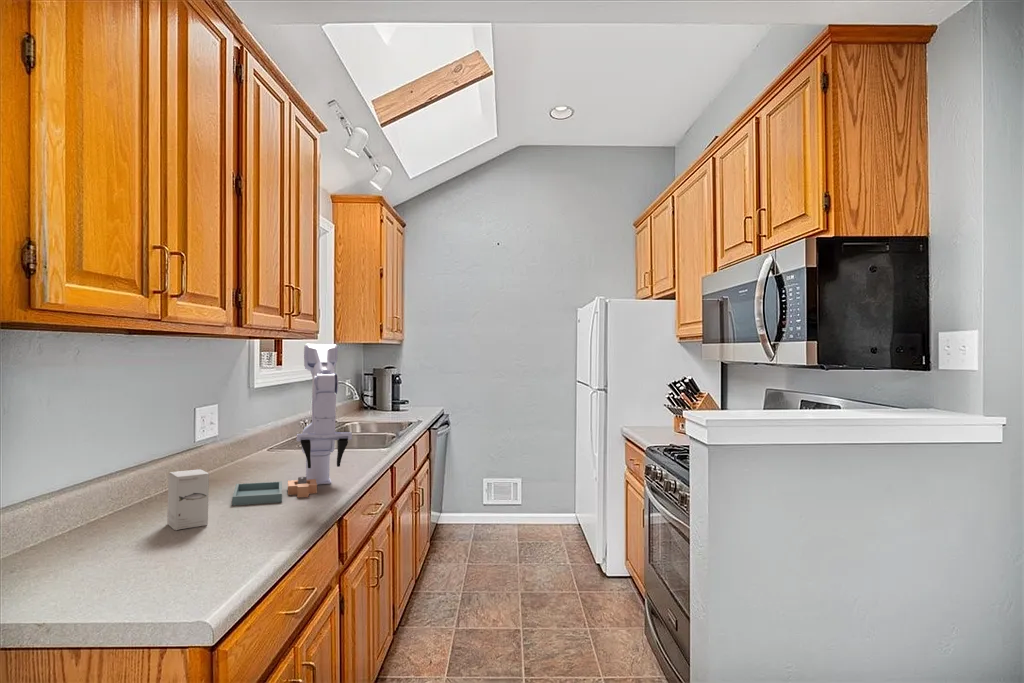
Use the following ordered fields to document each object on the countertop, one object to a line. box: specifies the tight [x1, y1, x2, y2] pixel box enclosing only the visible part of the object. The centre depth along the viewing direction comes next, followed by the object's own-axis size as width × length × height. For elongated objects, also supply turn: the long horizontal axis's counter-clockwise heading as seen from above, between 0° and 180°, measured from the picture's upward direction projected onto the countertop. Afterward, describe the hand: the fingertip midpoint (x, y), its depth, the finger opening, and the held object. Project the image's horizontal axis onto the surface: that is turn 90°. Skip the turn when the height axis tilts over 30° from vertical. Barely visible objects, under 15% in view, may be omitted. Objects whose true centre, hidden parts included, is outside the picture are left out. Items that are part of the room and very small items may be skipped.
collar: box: [287, 479, 318, 498], centre depth 187 cm, size 12×8×3 cm, turn 20°
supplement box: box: [166, 469, 210, 531], centre depth 153 cm, size 7×7×13 cm
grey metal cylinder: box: [297, 476, 307, 484], centre depth 189 cm, size 2×2×4 cm
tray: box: [231, 480, 283, 506], centre depth 181 cm, size 17×13×2 cm
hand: (323, 466), depth 175 cm, fingers open, 7 cm apart
